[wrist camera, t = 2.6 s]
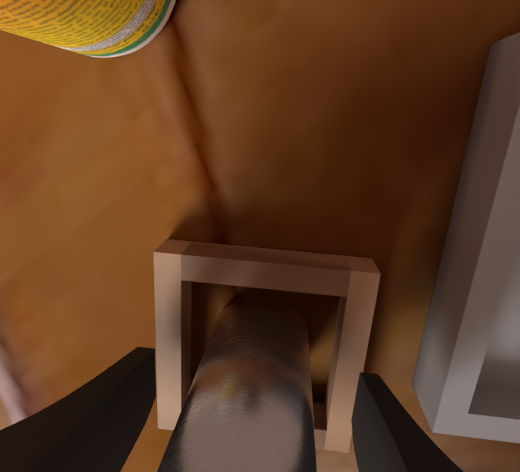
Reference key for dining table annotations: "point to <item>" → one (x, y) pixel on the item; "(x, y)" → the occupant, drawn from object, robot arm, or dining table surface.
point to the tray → (480, 274)
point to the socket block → (267, 277)
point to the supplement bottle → (87, 23)
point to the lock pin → (249, 395)
